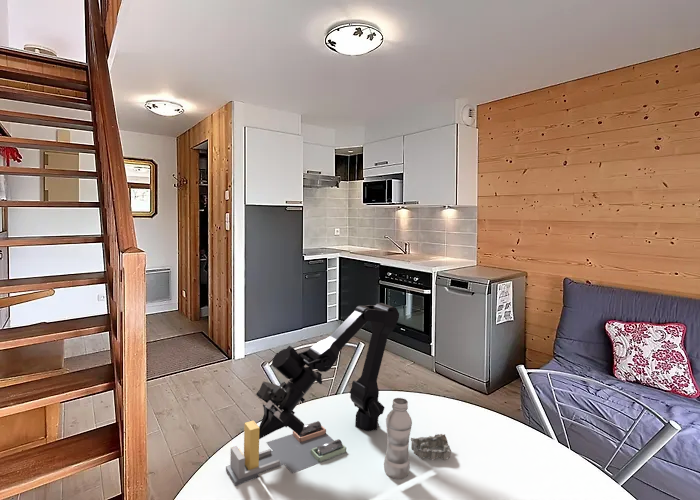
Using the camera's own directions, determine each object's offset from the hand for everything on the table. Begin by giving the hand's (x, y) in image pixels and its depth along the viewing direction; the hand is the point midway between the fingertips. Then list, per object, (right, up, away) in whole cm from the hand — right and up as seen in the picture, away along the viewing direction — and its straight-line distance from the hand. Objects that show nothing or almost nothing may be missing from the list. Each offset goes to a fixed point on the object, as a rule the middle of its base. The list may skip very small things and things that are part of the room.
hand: (257, 437), depth 103 cm
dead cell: (+12, -6, +16) cm, 21 cm away
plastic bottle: (+36, -10, +1) cm, 37 cm away
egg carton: (+47, -10, +11) cm, 49 cm away
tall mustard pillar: (-2, -7, 0) cm, 7 cm away
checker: (+6, -8, +6) cm, 12 cm away
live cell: (+18, -7, +7) cm, 21 cm away
